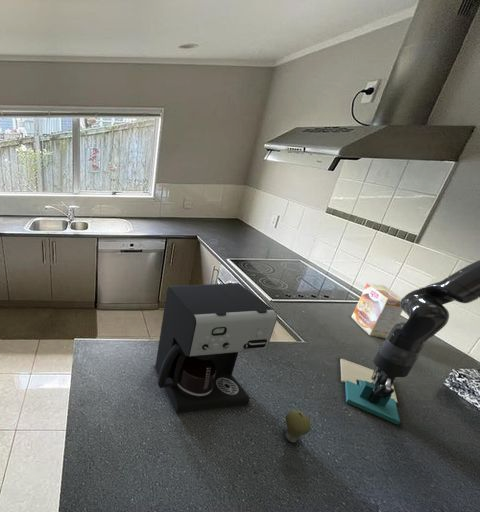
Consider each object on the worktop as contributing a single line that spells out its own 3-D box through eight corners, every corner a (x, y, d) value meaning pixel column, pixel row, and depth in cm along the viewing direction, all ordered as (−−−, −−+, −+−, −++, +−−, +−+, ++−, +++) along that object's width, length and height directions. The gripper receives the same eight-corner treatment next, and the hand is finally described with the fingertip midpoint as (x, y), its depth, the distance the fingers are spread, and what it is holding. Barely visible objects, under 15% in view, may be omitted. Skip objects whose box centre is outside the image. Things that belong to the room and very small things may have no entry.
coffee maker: (164, 418, 83) (182, 320, 70) (143, 369, 101) (155, 283, 87) (248, 408, 87) (281, 314, 74) (215, 362, 105) (236, 280, 92)
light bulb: (274, 434, 80) (284, 409, 76) (286, 427, 82) (297, 403, 78) (293, 453, 75) (305, 427, 71) (306, 445, 77) (318, 420, 73)
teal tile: (390, 395, 93) (399, 380, 91) (398, 425, 83) (408, 409, 81) (344, 377, 100) (351, 363, 97) (346, 402, 90) (354, 387, 87)
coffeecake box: (349, 317, 137) (366, 282, 130) (367, 320, 135) (384, 285, 128) (368, 336, 124) (387, 298, 116) (387, 339, 122) (408, 301, 114)
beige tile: (389, 379, 101) (390, 376, 100) (395, 405, 90) (397, 402, 90) (339, 361, 108) (341, 358, 108) (340, 383, 98) (342, 380, 98)
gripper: (419, 376, 76) (391, 421, 82) (409, 349, 86) (384, 391, 92) (382, 363, 80) (358, 406, 86) (376, 339, 90) (355, 379, 97)
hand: (372, 398), depth 89 cm, fingers closed on teal tile, 2 cm apart
